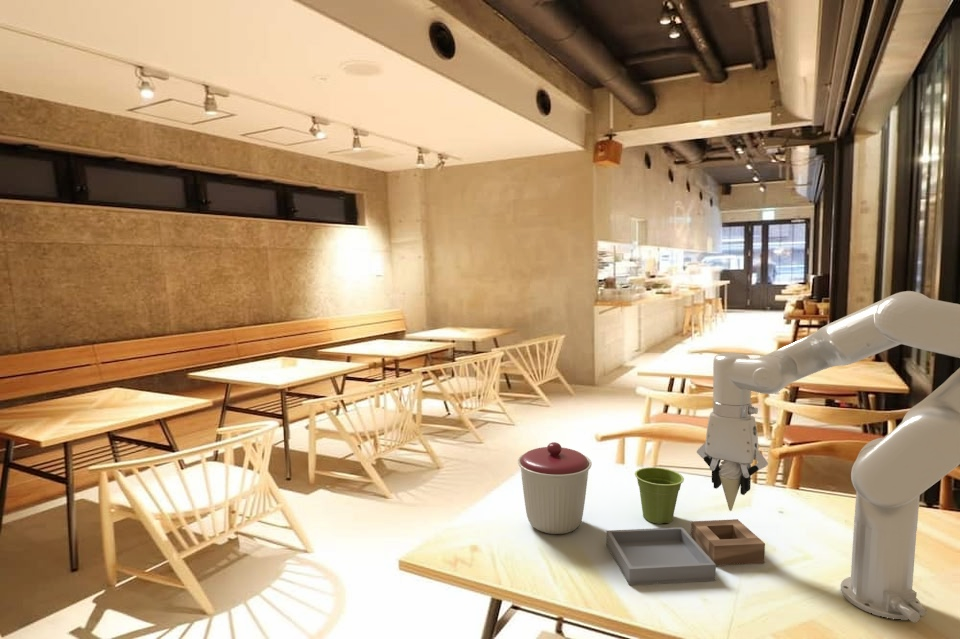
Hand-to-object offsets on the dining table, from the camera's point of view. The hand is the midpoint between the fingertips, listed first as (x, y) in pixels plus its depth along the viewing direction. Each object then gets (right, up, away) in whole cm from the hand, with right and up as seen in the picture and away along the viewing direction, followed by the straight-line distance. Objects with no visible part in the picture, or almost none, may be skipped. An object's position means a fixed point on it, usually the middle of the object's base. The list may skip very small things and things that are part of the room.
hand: (730, 488), depth 123 cm
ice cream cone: (0, -5, 0) cm, 5 cm away
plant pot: (-10, -13, +18) cm, 25 cm away
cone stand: (0, -15, +2) cm, 15 cm away
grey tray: (-17, -15, -2) cm, 23 cm away
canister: (-37, -14, +16) cm, 43 cm away
